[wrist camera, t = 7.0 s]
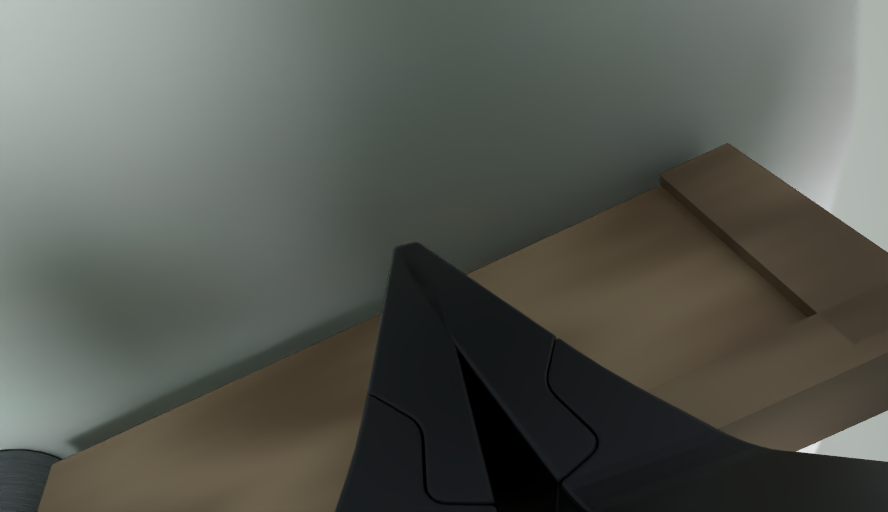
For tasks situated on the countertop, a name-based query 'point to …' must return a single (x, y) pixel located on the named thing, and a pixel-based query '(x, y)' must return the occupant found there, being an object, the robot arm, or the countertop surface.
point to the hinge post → (23, 479)
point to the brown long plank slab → (578, 324)
